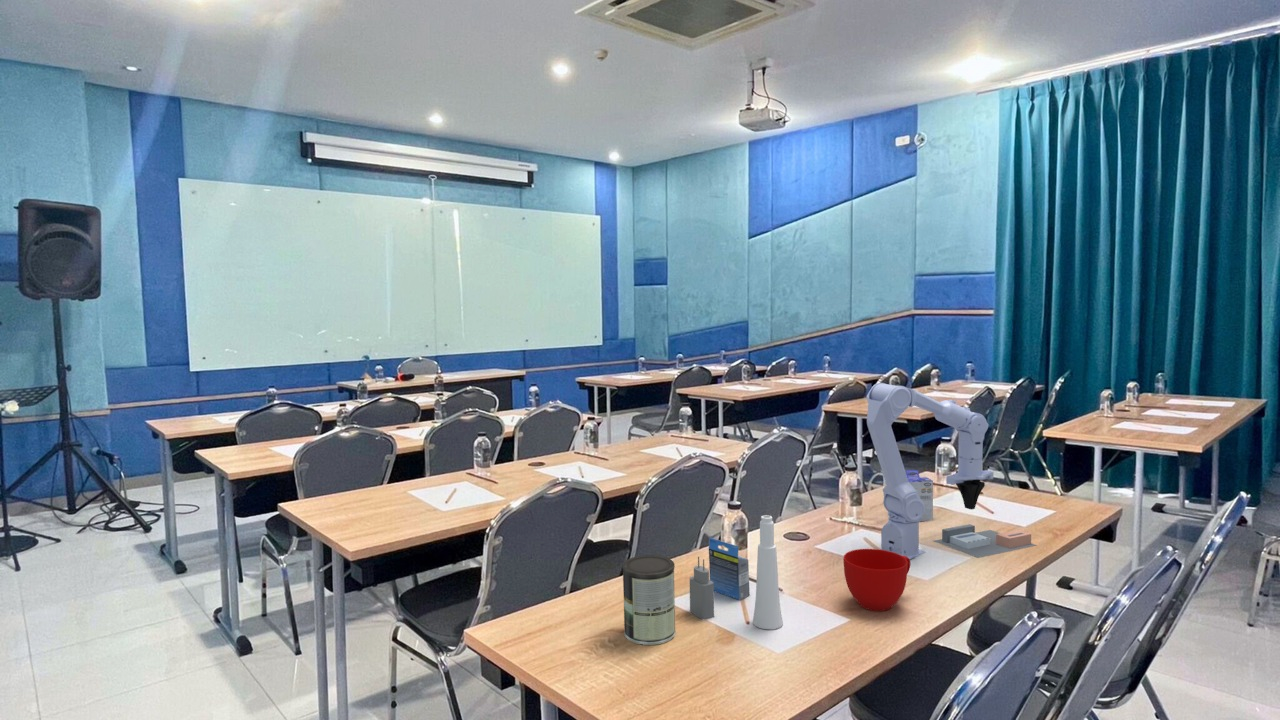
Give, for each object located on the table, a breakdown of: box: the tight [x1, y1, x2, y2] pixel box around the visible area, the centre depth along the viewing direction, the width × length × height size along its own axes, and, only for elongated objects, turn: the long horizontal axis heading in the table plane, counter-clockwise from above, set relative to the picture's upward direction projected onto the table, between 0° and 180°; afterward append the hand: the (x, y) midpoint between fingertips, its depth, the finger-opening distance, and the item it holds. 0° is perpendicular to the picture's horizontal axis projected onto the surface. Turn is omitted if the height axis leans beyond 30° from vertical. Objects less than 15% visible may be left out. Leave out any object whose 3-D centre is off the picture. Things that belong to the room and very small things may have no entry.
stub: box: [996, 529, 1032, 548], centre depth 184 cm, size 8×4×3 cm, turn 113°
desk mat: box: [933, 529, 1038, 559], centre depth 186 cm, size 21×14×1 cm
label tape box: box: [708, 536, 751, 601], centre depth 157 cm, size 9×4×12 cm, turn 43°
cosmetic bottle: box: [752, 514, 784, 630], centre depth 141 cm, size 6×6×22 cm
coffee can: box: [621, 554, 676, 646], centre depth 138 cm, size 10×10×14 cm
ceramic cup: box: [843, 548, 911, 612], centre depth 151 cm, size 13×17×10 cm
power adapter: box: [689, 556, 715, 621], centre depth 147 cm, size 3×5×12 cm, turn 30°
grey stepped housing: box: [941, 524, 990, 549], centre depth 186 cm, size 10×8×3 cm
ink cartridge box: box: [905, 469, 934, 522], centre depth 208 cm, size 10×6×14 cm, turn 89°
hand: (969, 508), depth 185 cm, fingers closed
